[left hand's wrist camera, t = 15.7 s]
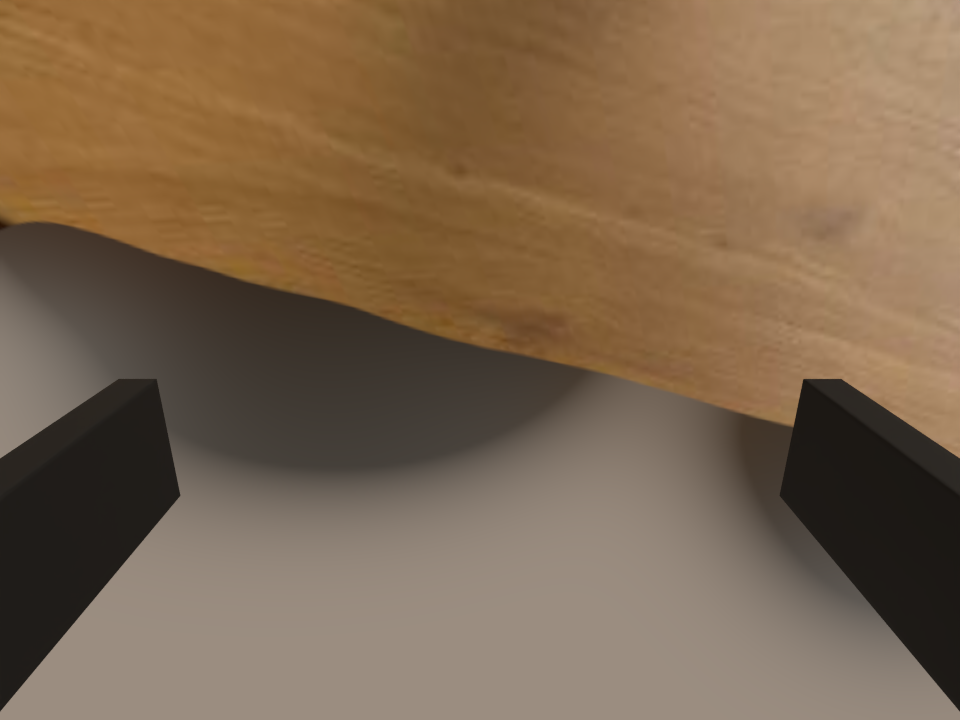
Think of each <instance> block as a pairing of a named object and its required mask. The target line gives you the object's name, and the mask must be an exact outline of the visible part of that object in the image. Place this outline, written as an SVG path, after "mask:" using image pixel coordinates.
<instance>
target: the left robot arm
mask: <svg viewBox="0 0 960 720" xmlns="http://www.w3.org/2000/svg"><path fill="white" fill-rule="evenodd" d="M179 497H180V492H179V487H178V482H177V477H176V472H175V467H174V462H173V457H172V453H171V448H170V443H169V438H168V433H167V428H166V423H165V418H164V413H163V409H162V404H161V399H160V394H159V389H158V384H157V379H118V380H117V381H115V382H114V383H112V384H111V385H109V386H108V387H106V388H105V389H103V390H102V391H100V392H99V393H97V394H96V395H94V396H93V397H91V398H90V399H88V400H87V401H85V402H84V403H82V404H81V405H79V406H78V407H76V408H75V409H73V410H72V411H70V412H69V413H67V414H66V415H65V416H63V417H61V418H60V419H59V420H57V421H56V422H54V423H53V424H51V425H50V426H48V427H47V428H45V429H44V430H42V431H41V432H39V433H38V434H36V435H35V436H33V437H32V438H30V439H29V440H27V441H26V442H24V443H23V444H21V445H20V446H18V447H17V448H15V449H14V450H12V451H11V452H9V453H8V454H6V455H5V456H3V457H2V458H0V711H1V710H2V709H3V707H4V706H5V705H6V704H7V703H8V701H9V700H10V699H11V698H12V697H13V695H14V694H15V693H16V692H17V691H18V689H19V688H20V687H21V686H22V685H23V683H24V682H25V681H26V680H27V679H28V677H29V676H30V675H31V674H32V673H33V671H34V670H35V669H36V668H37V667H38V665H39V664H40V663H41V662H42V661H43V659H44V658H45V657H46V656H47V655H48V653H49V652H50V651H51V650H52V649H53V647H54V646H55V645H56V644H57V643H58V641H59V640H60V639H61V638H62V637H63V635H64V634H65V633H66V632H67V631H68V629H69V628H70V627H71V626H72V625H73V624H74V622H75V621H76V620H77V619H78V617H79V616H80V615H81V614H82V613H83V612H84V610H85V609H86V608H87V607H88V606H89V604H90V603H91V602H92V601H93V600H94V598H95V597H96V596H97V595H98V594H99V592H100V591H101V590H102V589H103V588H104V586H105V585H106V584H107V583H108V582H109V580H110V579H111V578H112V577H113V576H114V574H115V573H116V572H117V571H118V570H119V568H120V567H121V566H122V565H123V564H124V562H125V561H126V560H127V559H128V558H129V556H130V555H131V554H132V553H133V552H134V550H135V549H136V548H137V547H138V546H139V544H140V543H141V542H142V541H143V540H144V538H145V537H146V536H147V535H148V534H149V533H150V531H151V530H152V529H153V528H154V526H155V525H156V524H157V523H158V522H159V521H160V519H161V518H162V517H163V516H164V515H165V513H166V512H167V511H168V510H169V508H170V507H171V506H172V505H173V504H174V503H175V501H176V500H177V499H178V498H179ZM780 497H781V498H782V499H783V500H784V501H785V503H786V504H787V505H788V506H789V507H790V509H791V510H792V511H793V512H794V513H795V515H796V516H797V517H798V518H799V519H800V521H801V522H802V523H803V524H804V525H805V526H806V528H807V529H808V530H809V531H810V533H811V534H812V535H813V536H814V537H815V539H816V540H817V541H818V542H819V543H820V544H821V546H822V547H823V548H824V549H825V550H826V552H827V553H828V554H829V555H830V556H831V558H832V559H833V560H834V561H835V562H836V564H837V565H838V566H839V567H840V568H841V570H842V571H843V572H844V573H845V574H846V576H847V577H848V578H849V579H850V580H851V582H852V583H853V584H854V585H855V586H856V588H857V589H858V590H859V591H860V592H861V594H862V595H863V596H864V597H865V598H866V600H867V601H868V602H869V603H870V604H871V606H872V607H873V608H874V609H875V610H876V612H877V613H878V614H879V615H880V616H881V618H882V619H883V620H884V621H885V622H886V624H887V625H888V626H889V627H890V628H891V630H892V631H893V632H894V633H895V634H896V636H897V637H898V638H899V639H900V640H901V641H902V643H903V644H904V645H905V646H906V647H907V649H908V650H909V651H910V652H911V653H912V655H913V656H914V657H915V658H916V659H917V661H918V662H919V663H920V664H921V665H922V667H923V668H924V669H925V670H926V671H927V673H928V674H929V675H930V676H931V677H932V679H933V680H934V681H935V682H936V683H937V685H938V686H939V687H940V688H941V689H942V691H943V692H944V693H945V694H946V695H947V697H948V698H949V699H950V700H951V701H952V703H953V704H954V705H955V706H956V707H957V709H958V710H959V711H960V458H958V457H957V456H955V455H954V454H952V453H951V452H949V451H948V450H946V449H945V448H943V447H942V446H940V445H939V444H937V443H936V442H934V441H933V440H931V439H930V438H928V437H927V436H925V435H924V434H922V433H921V432H919V431H918V430H916V429H915V428H913V427H912V426H910V425H909V424H907V423H906V422H904V421H903V420H901V419H900V418H899V417H897V416H896V415H894V414H893V413H891V412H890V411H888V410H887V409H885V408H884V407H882V406H881V405H879V404H878V403H876V402H875V401H873V400H872V399H870V398H869V397H867V396H866V395H864V394H863V393H861V392H860V391H858V390H857V389H855V388H854V387H852V386H851V385H849V384H848V383H846V382H845V381H843V380H842V379H803V384H802V389H801V394H800V399H799V403H798V408H797V413H796V418H795V423H794V428H793V433H792V438H791V443H790V448H789V453H788V457H787V462H786V467H785V472H784V477H783V482H782V487H781V492H780Z"/></svg>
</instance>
